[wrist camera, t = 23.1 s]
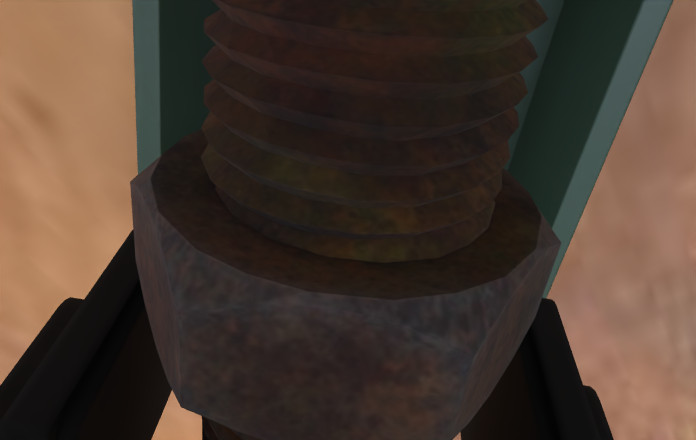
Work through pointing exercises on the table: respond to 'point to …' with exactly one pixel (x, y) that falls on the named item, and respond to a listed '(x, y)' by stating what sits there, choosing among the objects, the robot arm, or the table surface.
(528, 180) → the parts chest
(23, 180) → the table surface
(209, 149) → the bolt
